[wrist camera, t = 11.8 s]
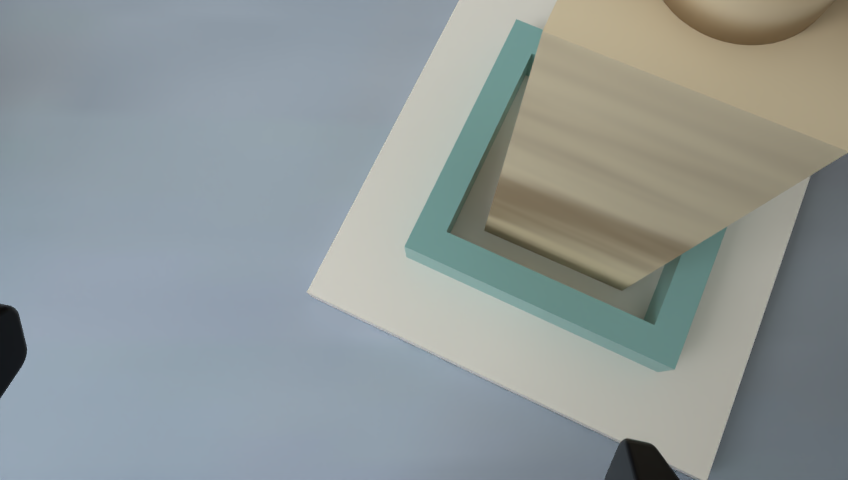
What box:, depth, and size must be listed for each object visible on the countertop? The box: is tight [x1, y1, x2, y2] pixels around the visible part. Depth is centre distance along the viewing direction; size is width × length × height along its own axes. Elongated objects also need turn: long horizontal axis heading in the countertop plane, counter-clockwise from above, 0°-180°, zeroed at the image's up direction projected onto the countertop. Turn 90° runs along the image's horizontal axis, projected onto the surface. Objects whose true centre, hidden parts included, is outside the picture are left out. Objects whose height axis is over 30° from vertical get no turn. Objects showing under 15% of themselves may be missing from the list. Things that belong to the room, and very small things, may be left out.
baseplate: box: [307, 0, 811, 480], centre depth 22 cm, size 14×14×2 cm
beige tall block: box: [484, 0, 848, 291], centre depth 16 cm, size 5×5×13 cm
